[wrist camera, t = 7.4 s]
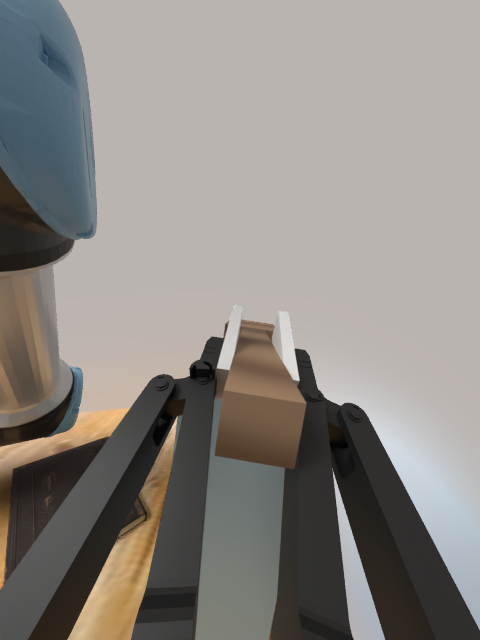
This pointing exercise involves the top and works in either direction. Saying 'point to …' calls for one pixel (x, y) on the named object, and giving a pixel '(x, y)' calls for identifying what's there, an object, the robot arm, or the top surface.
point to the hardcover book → (49, 498)
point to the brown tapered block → (259, 403)
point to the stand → (239, 546)
